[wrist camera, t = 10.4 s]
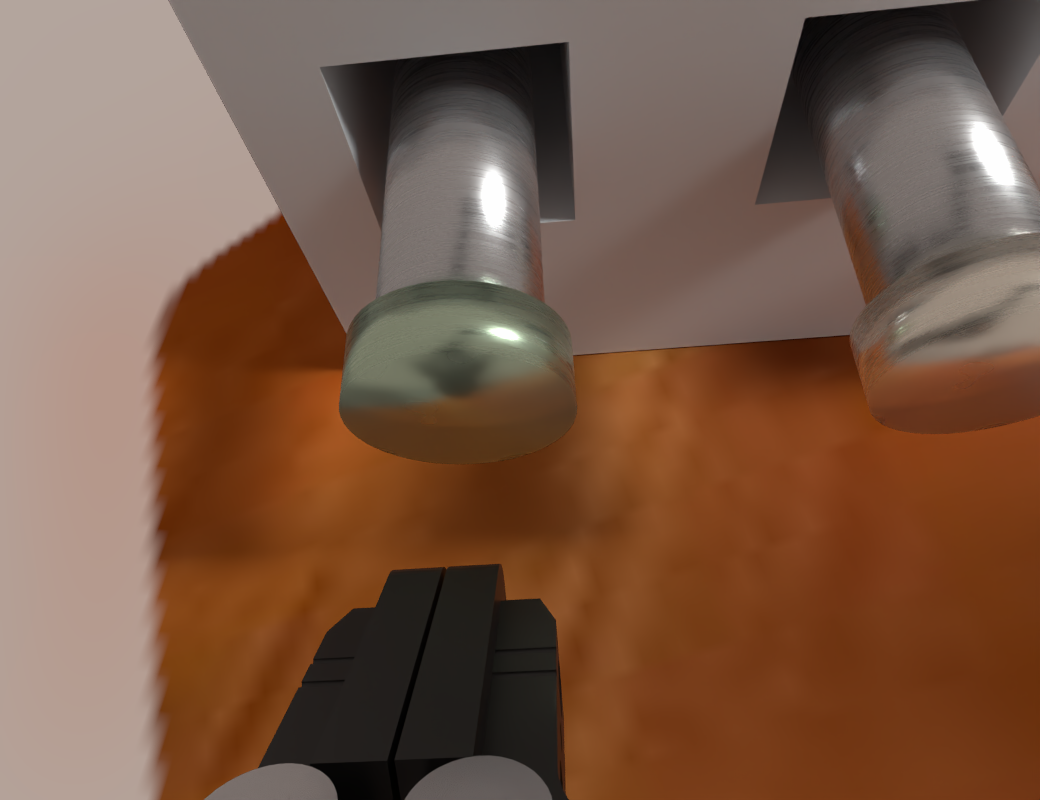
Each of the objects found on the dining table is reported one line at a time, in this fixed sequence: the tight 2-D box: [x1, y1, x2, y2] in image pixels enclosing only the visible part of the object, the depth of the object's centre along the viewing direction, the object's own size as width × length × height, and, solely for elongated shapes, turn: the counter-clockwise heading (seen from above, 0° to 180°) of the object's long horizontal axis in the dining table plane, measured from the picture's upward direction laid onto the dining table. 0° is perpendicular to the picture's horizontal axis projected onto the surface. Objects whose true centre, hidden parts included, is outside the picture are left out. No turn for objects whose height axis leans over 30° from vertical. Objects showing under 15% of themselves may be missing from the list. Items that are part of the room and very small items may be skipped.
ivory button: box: [791, 4, 1040, 434], centre depth 13 cm, size 9×4×4 cm, turn 2°
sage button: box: [339, 46, 577, 464], centre depth 13 cm, size 9×4×4 cm, turn 2°
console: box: [168, 0, 1040, 355], centre depth 18 cm, size 12×24×12 cm, turn 92°
